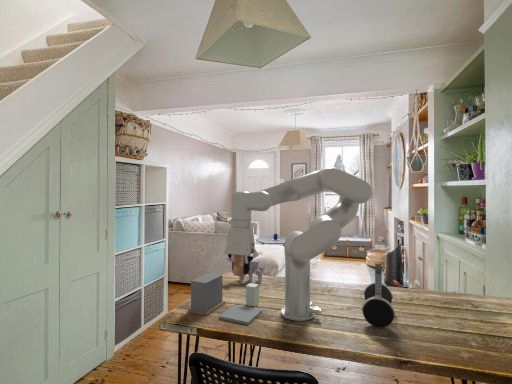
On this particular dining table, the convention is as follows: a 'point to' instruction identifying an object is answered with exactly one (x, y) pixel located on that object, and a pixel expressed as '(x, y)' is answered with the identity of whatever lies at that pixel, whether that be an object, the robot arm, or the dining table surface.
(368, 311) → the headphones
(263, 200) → the robot arm
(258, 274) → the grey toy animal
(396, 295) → the dining table surface
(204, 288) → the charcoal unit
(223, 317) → the mat
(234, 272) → the terracotta block
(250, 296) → the sage block
